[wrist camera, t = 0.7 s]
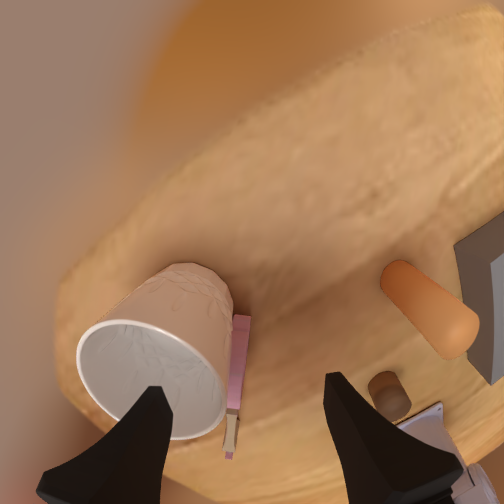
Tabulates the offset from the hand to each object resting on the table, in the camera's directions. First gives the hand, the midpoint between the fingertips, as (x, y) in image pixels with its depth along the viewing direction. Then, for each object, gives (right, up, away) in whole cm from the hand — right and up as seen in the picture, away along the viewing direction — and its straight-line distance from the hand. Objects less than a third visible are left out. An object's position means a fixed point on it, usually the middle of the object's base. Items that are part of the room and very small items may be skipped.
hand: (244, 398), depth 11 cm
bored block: (+26, +4, +9) cm, 28 cm away
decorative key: (-1, -7, +13) cm, 14 cm away
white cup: (-4, +2, +10) cm, 12 cm away
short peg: (+13, -6, +12) cm, 18 cm away
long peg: (+12, +4, +9) cm, 15 cm away
